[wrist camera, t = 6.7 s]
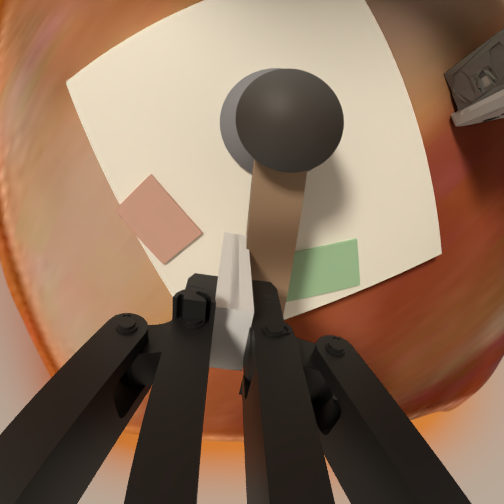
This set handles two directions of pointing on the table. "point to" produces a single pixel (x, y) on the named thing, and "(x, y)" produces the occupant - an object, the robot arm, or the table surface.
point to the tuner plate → (241, 162)
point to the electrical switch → (479, 83)
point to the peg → (283, 162)
